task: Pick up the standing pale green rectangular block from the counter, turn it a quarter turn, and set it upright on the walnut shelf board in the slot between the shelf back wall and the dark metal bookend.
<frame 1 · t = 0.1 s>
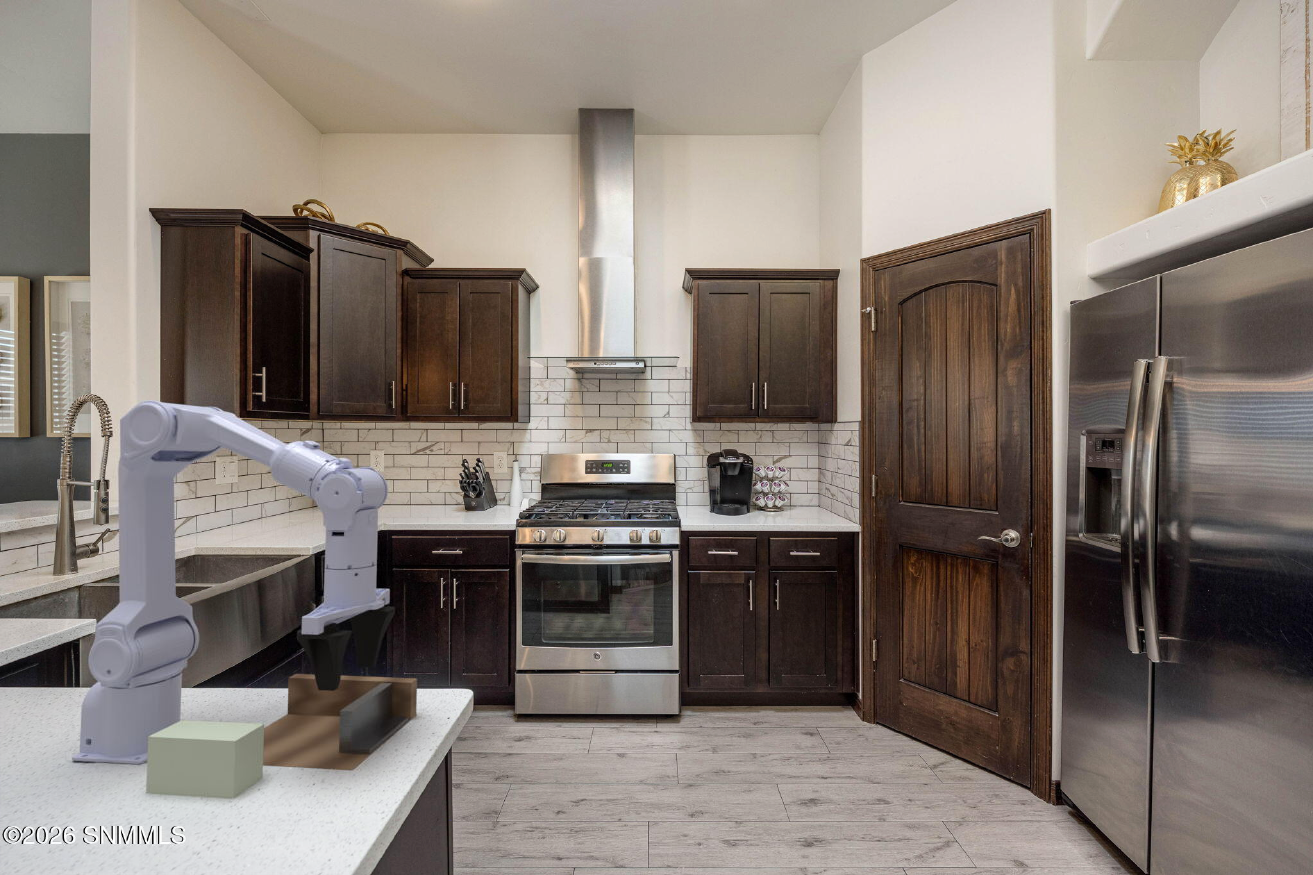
hand: (348, 677, 71), 10 cm above the counter, tool pointing down, fingers open, 7 cm apart
shelf: (316, 747, 74), on the counter
pale green rectangular block: (205, 795, 63), on the counter
bookend: (366, 735, 75), resting on shelf
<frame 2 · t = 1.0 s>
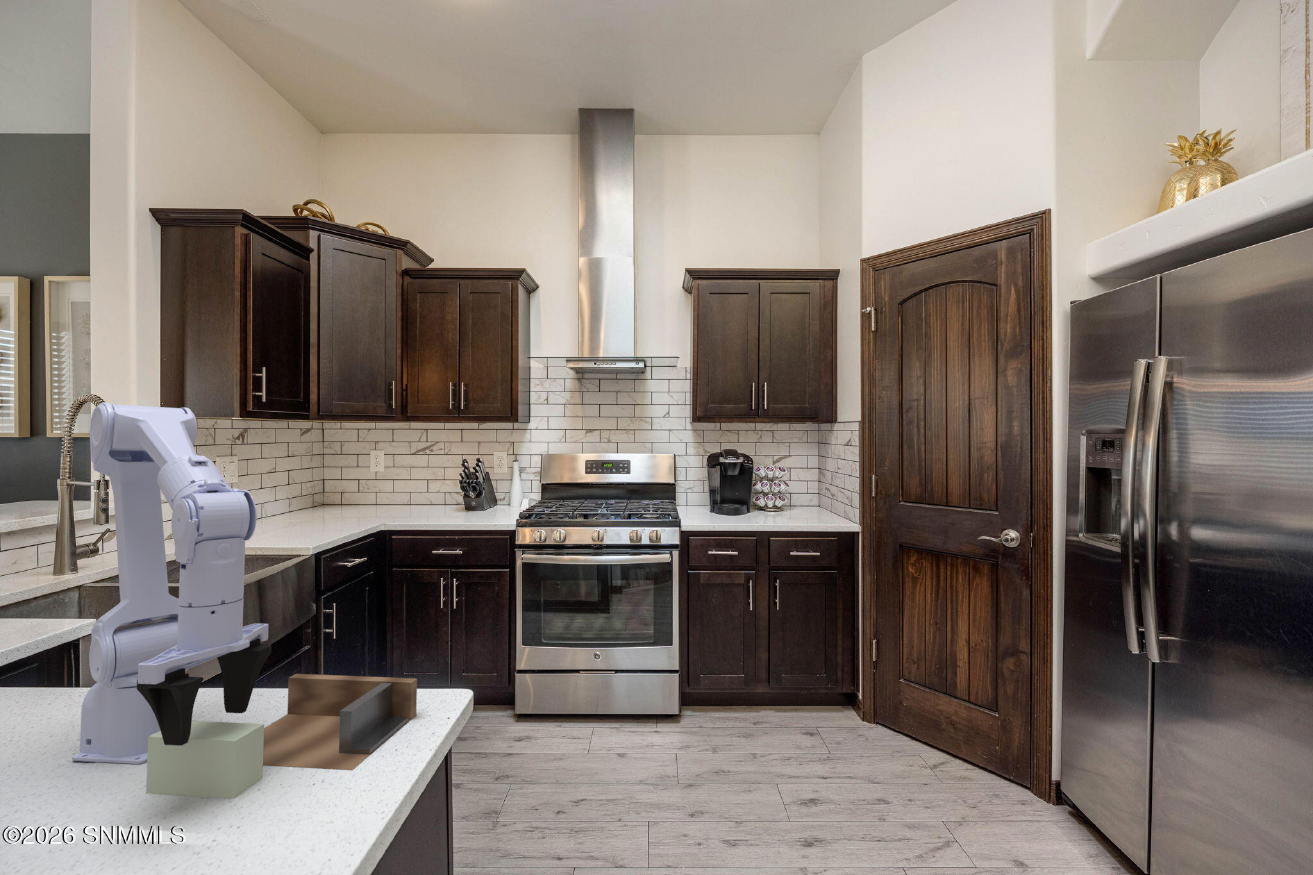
hand: (207, 726, 64), 7 cm above the counter, tool pointing down, fingers open, 7 cm apart
nothing on the counter moved.
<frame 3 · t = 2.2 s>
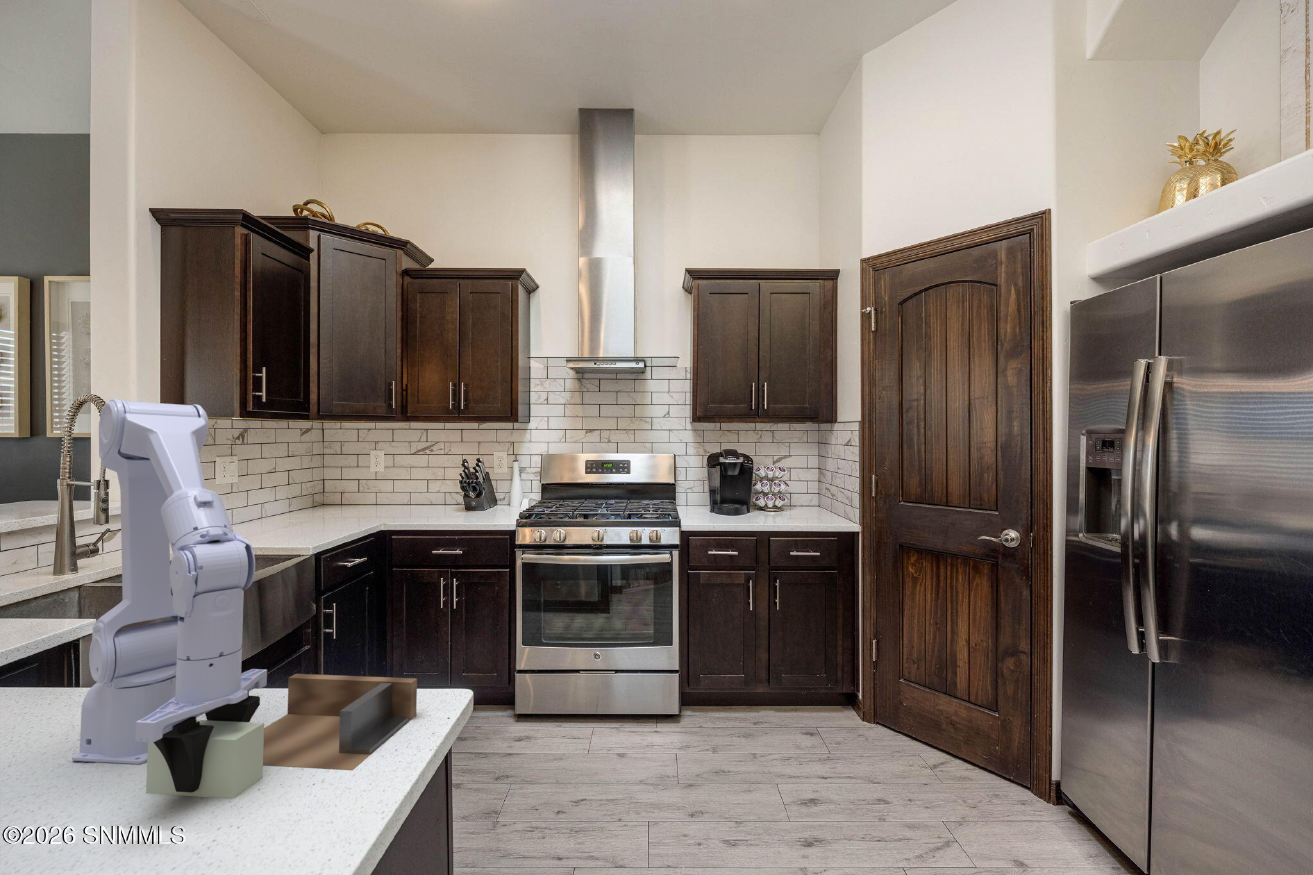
hand: (205, 778, 63), 2 cm above the counter, tool pointing down, fingers closed on pale green rectangular block, 4 cm apart
pale green rectangular block: (205, 794, 63), on the counter, touching gripper
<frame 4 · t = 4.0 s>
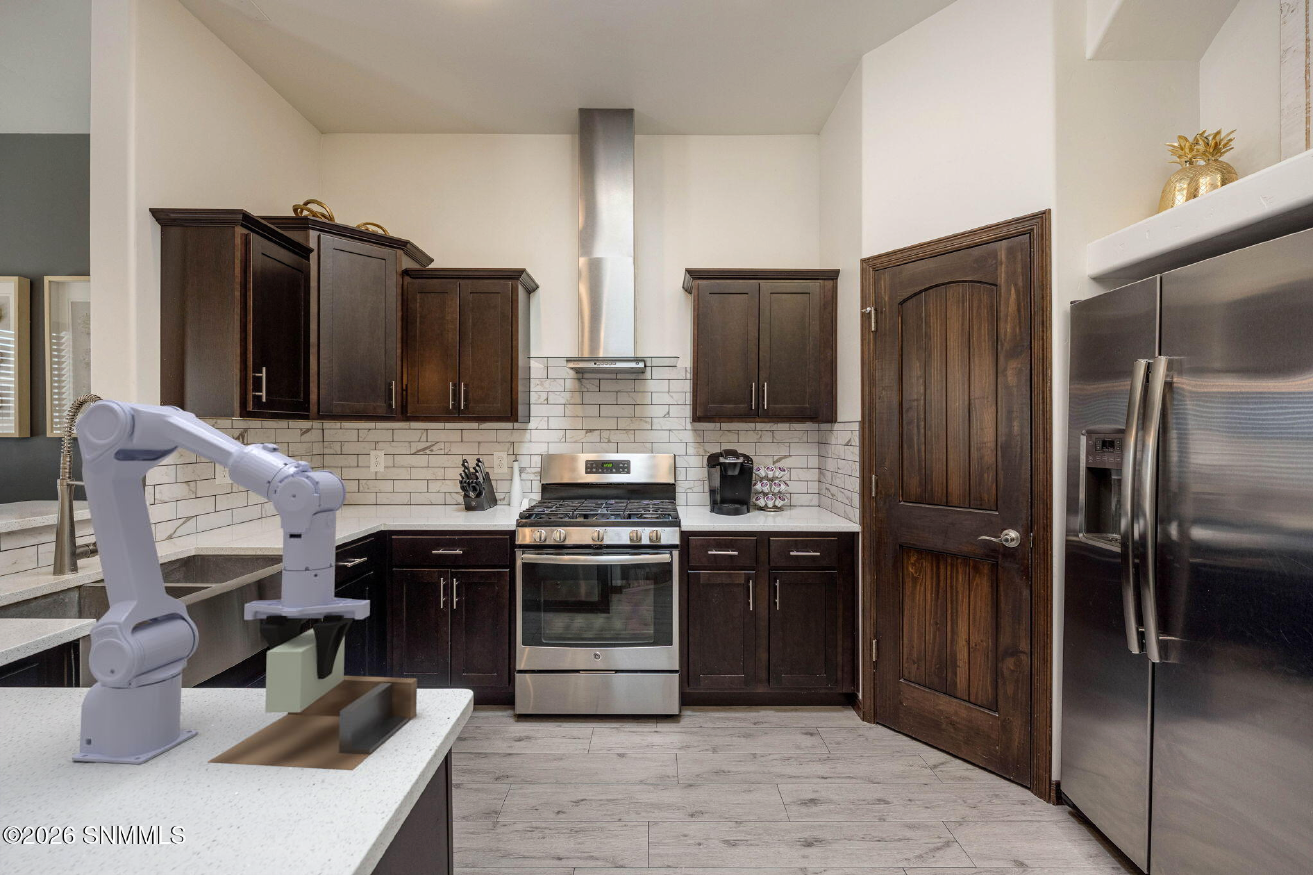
hand: (306, 676, 73), 9 cm above the counter, tool pointing down, fingers closed on pale green rectangular block, 4 cm apart
pale green rectangular block: (307, 695, 73), point 7 cm above the counter, touching gripper
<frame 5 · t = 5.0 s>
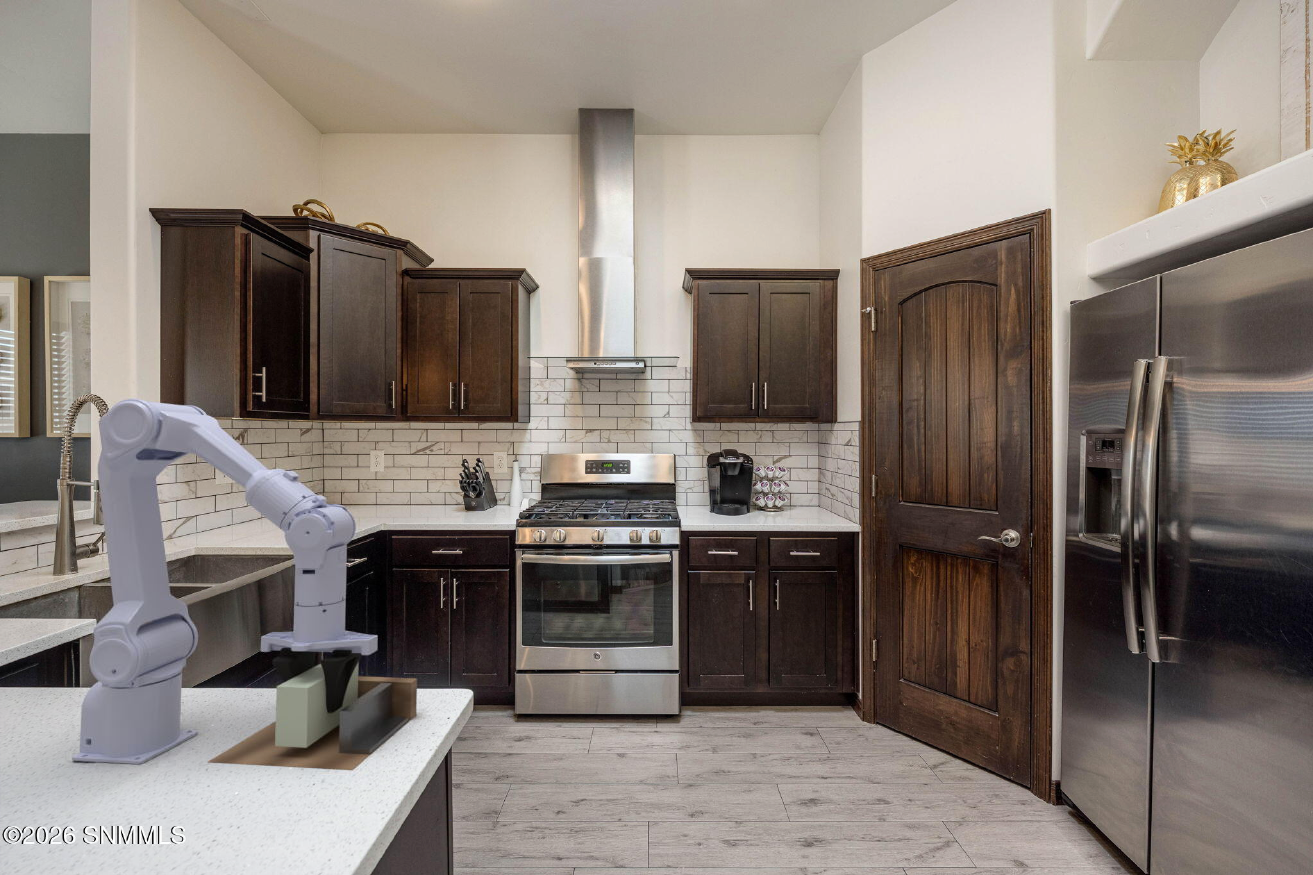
hand: (317, 709, 74), 5 cm above the counter, tool pointing down, fingers closed on pale green rectangular block, 4 cm apart
pale green rectangular block: (318, 727, 74), point 2 cm above the counter, touching gripper
when the fingers open (4 cm above the counter, at t = 5.6 s): pale green rectangular block stays where it is, resting on shelf.
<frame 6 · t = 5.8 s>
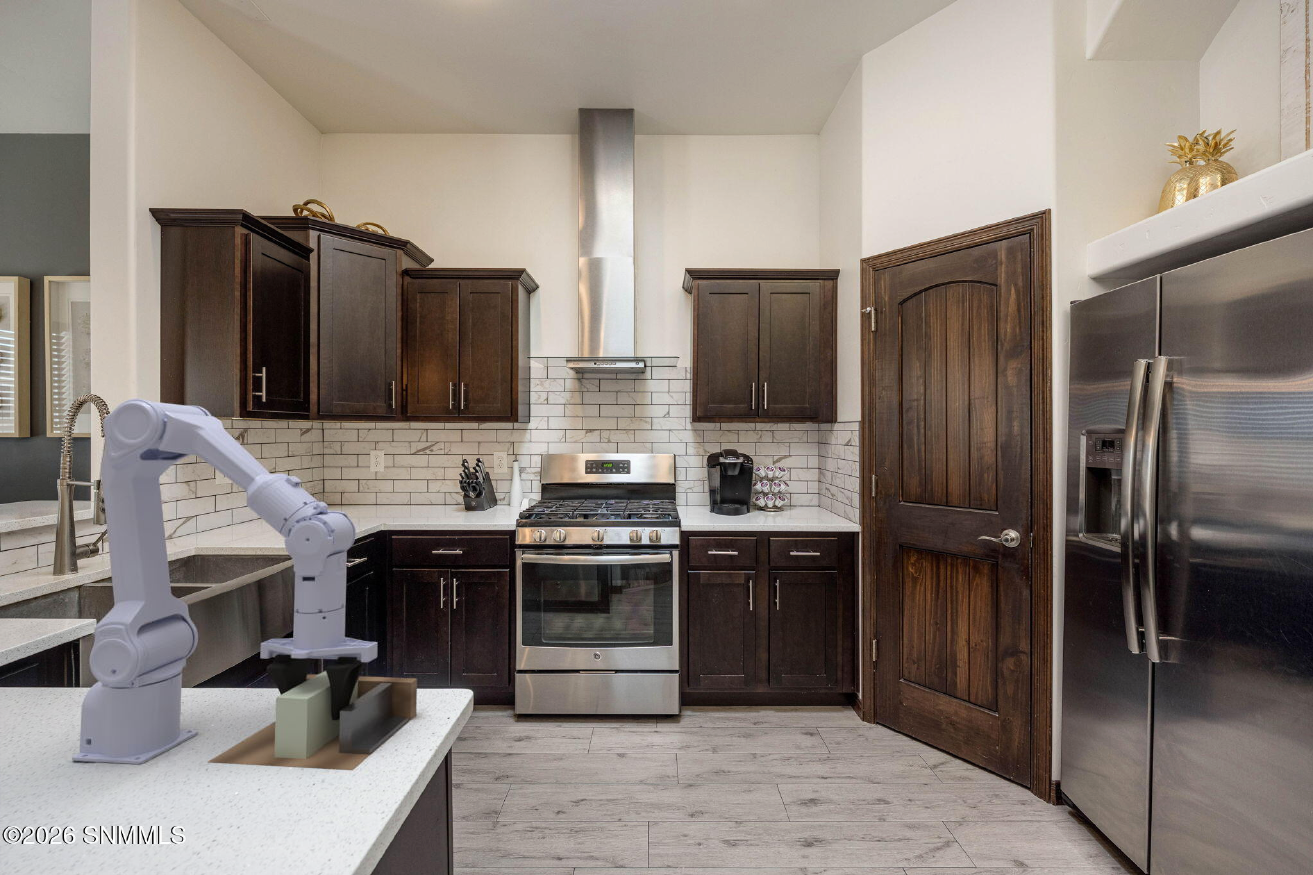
hand: (317, 715, 74), 4 cm above the counter, tool pointing down, fingers open, 5 cm apart
pale green rectangular block: (318, 738, 74), point 1 cm above the counter, touching shelf
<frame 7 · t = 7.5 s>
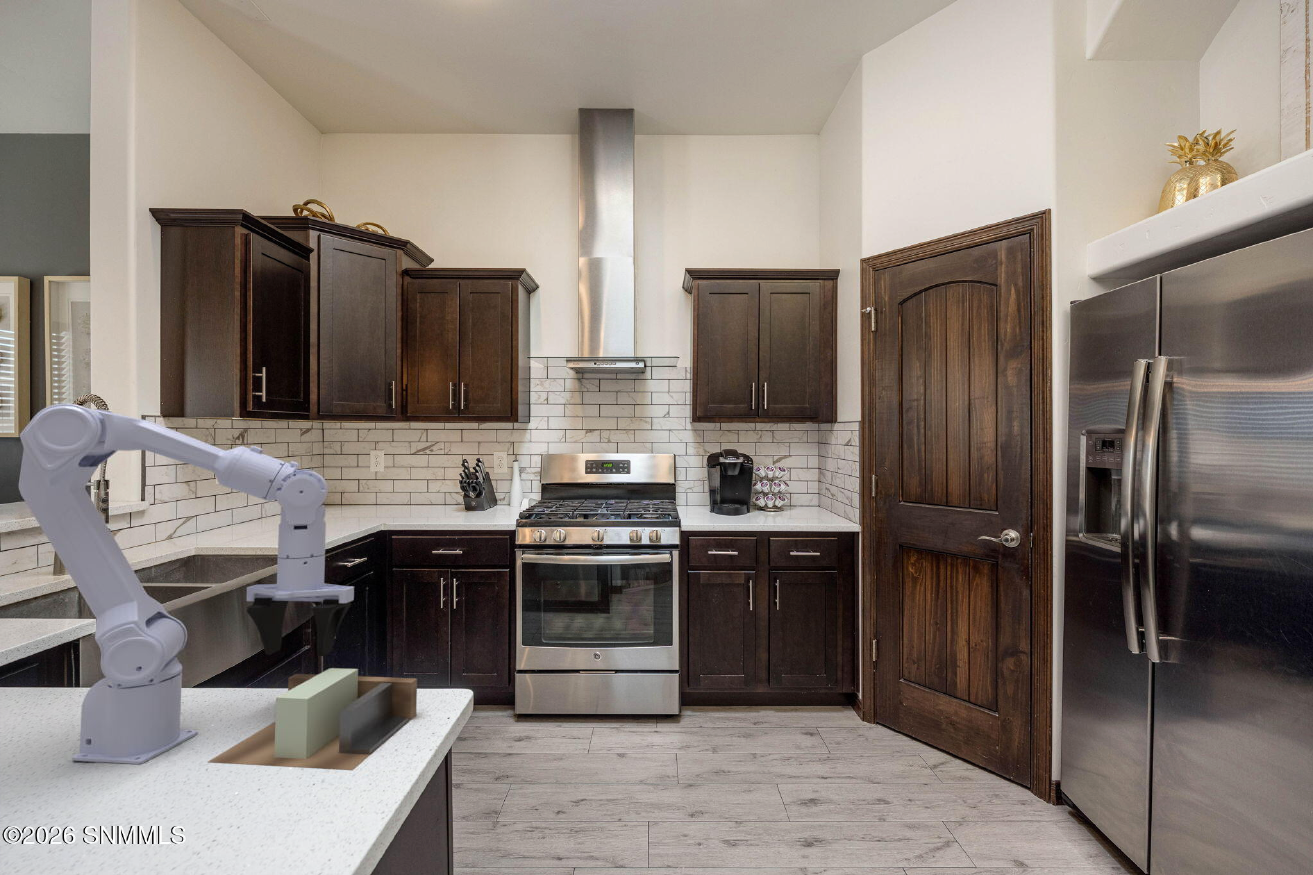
hand: (298, 653, 82), 9 cm above the counter, tool pointing down, fingers open, 7 cm apart
nothing on the counter moved.
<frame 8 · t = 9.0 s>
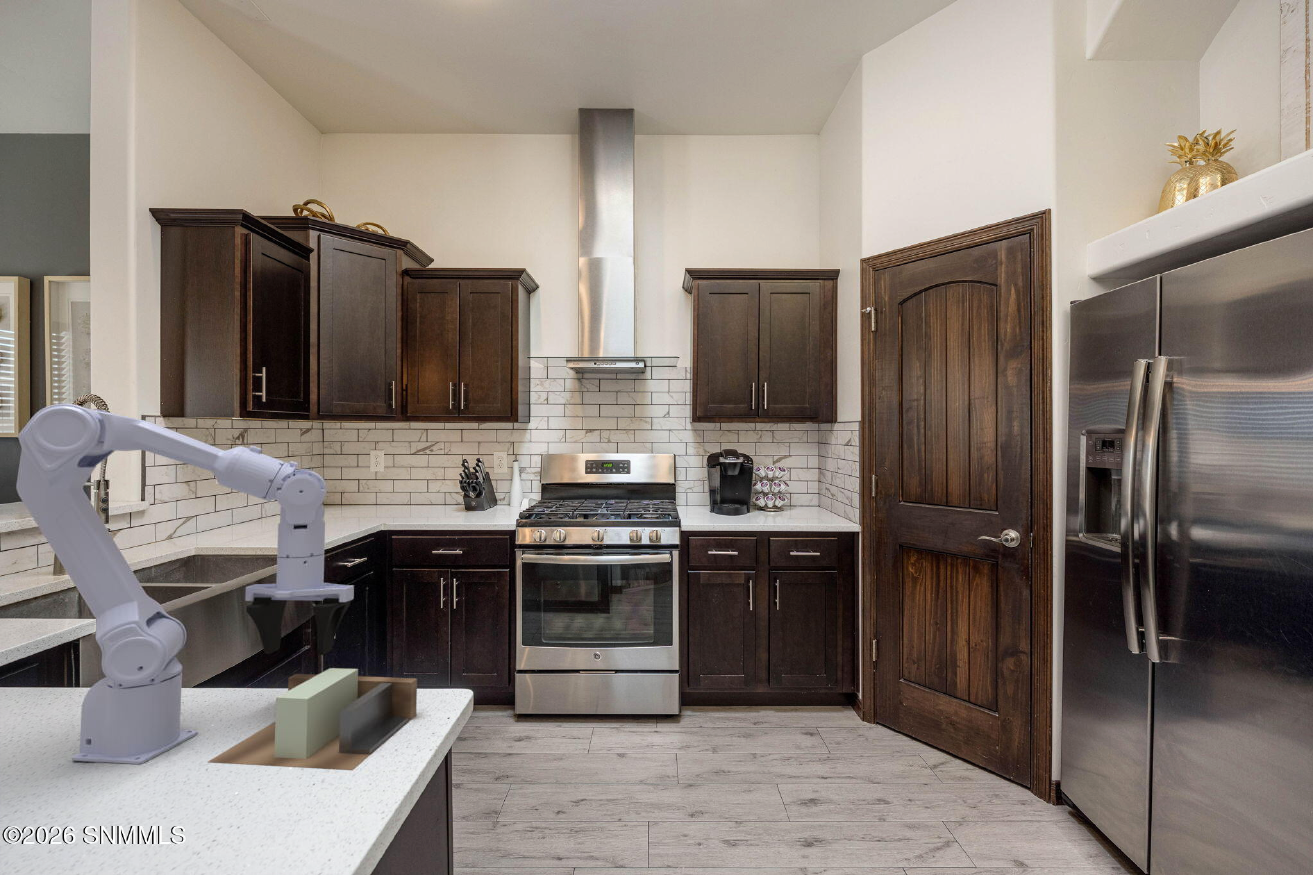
hand: (298, 652, 82), 9 cm above the counter, tool pointing down, fingers open, 7 cm apart
nothing on the counter moved.
at the end: pale green rectangular block 0.4 cm from the target spot, point 1.0 cm above the counter; pale green rectangular block tilted 0°; the gripper is holding nothing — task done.
